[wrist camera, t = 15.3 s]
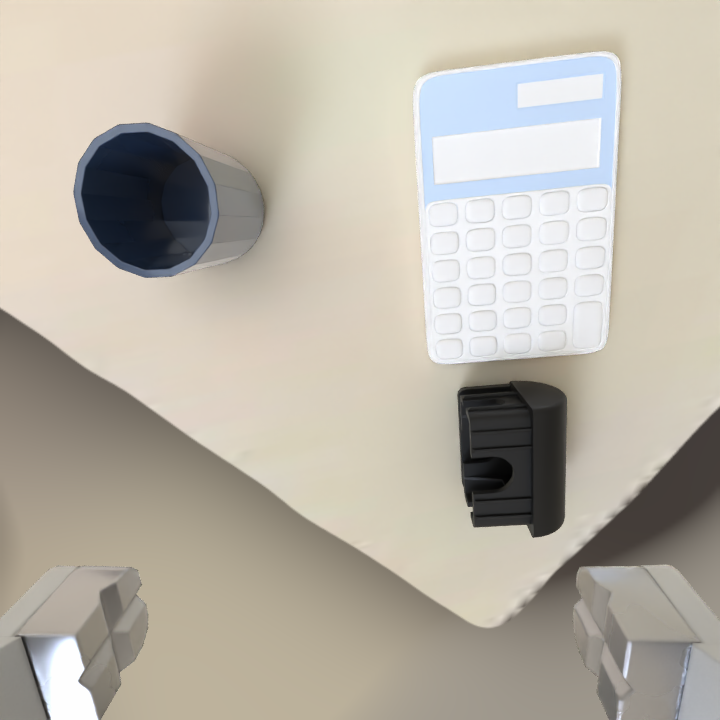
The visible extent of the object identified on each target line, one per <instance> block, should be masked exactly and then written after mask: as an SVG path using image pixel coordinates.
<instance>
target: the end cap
mask: <svg viewBox="0 0 720 720" xmlns="http://www.w3.org/2000/svg"><path fill="white" fill-rule="evenodd" d="M458 412H459V432H460V452H461V472H462V483H463V486H464V493H465V498H466V502H467V505H468V507H473V512H470V513H471V520H472V523H473V526H474V527H491V526H510V525H527V526H528V528H529V531H530V533H531V535H532V537H533V538H534V537H542V536H546V535H549V534H551V533H553V532H555V531H556V530H558V529H559V528H560V527H561V525H562V524H563V522H564V519H565V476H566V423H567V398H566V395H565V394H564V393H563V392H562V391H561V390H560V389H558V388H556V387H554V386H550V385H547V384H543V383H538V382H529V381H511V382H510V384H501V385H488V386H475V387H464V388H461V389H460V390H459V391H458Z"/></svg>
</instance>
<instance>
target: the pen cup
mask: <svg viewBox="0 0 720 720" xmlns="http://www.w3.org/2000/svg"><path fill="white" fill-rule="evenodd" d="M73 192H74V198H75V203H76V208H77V213H78V218H79V222H80V224H81V226H82V227H83V229H84V231H85V232H86V234H87V236H88V237H89V239H90V241H91V242H92V244H93V246H94V247H95V248H96V250H97V251H99V252H100V253H101V254H102V255H103V256H105V257H106V258H107V259H108V260H109V261H110V262H112V263H113V264H114V265H115V266H116V267H118V268H119V269H122V270H125V271H128V272H131V273H133V274H136V275H139V276H142V277H145V278H152V277H172V276H176V275H180V274H184V273H188V272H192V271H196V270H200V269H204V268H208V267H212V266H216V265H220V264H224V263H227V262H229V261H232V260H234V259H237V258H239V257H240V256H242V255H243V254H245V253H246V252H247V251H248V250H249V249H250V248H251V247H252V246H253V245H254V243H255V242H256V241H257V239H258V237H259V235H260V232H261V230H262V226H263V222H264V203H263V198H262V194H261V191H260V189H259V186H258V184H257V182H256V181H255V179H254V177H253V176H252V175H251V173H250V172H249V171H248V170H247V169H246V168H245V167H244V166H243V165H242V164H241V163H239V162H238V161H236V160H235V159H234V158H233V157H231V156H228V155H226V154H224V153H221V152H219V151H216V150H214V149H212V148H209V147H207V146H205V145H202V144H200V143H198V142H195V141H193V140H191V139H188V138H186V137H184V136H181V135H179V134H177V133H174V132H171V131H169V130H166V129H163V128H161V127H158V126H156V125H153V124H150V123H133V124H119V125H117V126H115V127H113V128H112V129H110V130H108V131H106V132H105V133H103V134H101V135H100V136H98V137H96V138H95V139H94V140H93V141H92V142H91V144H90V145H89V147H88V148H87V150H86V152H85V153H84V155H83V156H82V158H81V159H80V161H79V163H78V167H77V173H76V179H75V185H74V191H73Z"/></svg>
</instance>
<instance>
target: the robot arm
mask: <svg viewBox="0 0 720 720" xmlns="http://www.w3.org/2000/svg"><path fill="white" fill-rule="evenodd" d="M141 585H142V584H141V580H140V577H139V573H138V570H137V569H134V568H132V567H109V566H56V567H54V568H51V569H49V570H48V571H47V572H46V573H45V574H44V575H43V576H42V577H41V578H40V579H39V580H38V581H37V582H36V583H35V584H34V585H33V586H32V587H31V588H30V589H29V590H28V591H27V592H26V593H25V594H24V595H23V596H22V597H21V598H20V599H19V600H18V601H17V602H16V603H15V604H14V605H13V606H12V607H11V608H10V609H9V610H8V611H7V612H6V613H5V614H4V615H3V616H2V617H1V618H0V720H101V718H102V716H103V715H104V713H105V711H106V709H107V708H108V706H109V704H110V703H111V701H112V699H113V697H114V696H115V694H116V692H117V691H118V689H119V687H120V685H121V679H120V671H122V670H123V669H125V668H126V667H127V666H128V665H130V664H131V663H132V662H134V661H135V659H136V657H137V656H138V654H139V652H140V650H141V648H142V646H143V644H144V640H145V637H146V633H147V630H148V612H147V607H146V604H145V603H144V602H143V601H142V600H141V599H140V598H139V597H138V596H137V595H136V593H137V592H138V590H139V588H140V587H141ZM576 587H577V588H578V591H579V592H580V595H581V596H582V598H581V599H580V600H579V601H578V602H577V604H575V605H574V613H573V626H574V634H575V640H576V643H577V646H578V650H579V653H580V655H581V658H582V660H583V662H584V665H585V667H586V668H588V669H589V670H590V671H591V672H592V673H594V674H595V675H596V676H597V677H598V685H597V694H598V696H599V698H600V700H601V703H602V705H603V707H604V709H605V711H606V714H607V716H608V718H609V720H720V619H718V617H717V616H716V615H715V614H714V612H713V611H712V610H711V609H710V608H709V606H708V605H707V604H706V603H705V602H704V601H703V599H702V598H701V597H700V596H699V595H698V593H697V592H696V591H695V590H694V589H693V588H692V586H691V585H690V584H689V583H688V582H687V581H686V579H685V578H684V577H683V576H682V575H681V573H680V572H679V571H678V570H677V569H676V568H674V567H672V566H671V565H645V566H644V565H641V566H638V567H637V566H610V567H609V566H607V567H605V566H603V567H580V568H579V571H578V573H577V579H576Z"/></svg>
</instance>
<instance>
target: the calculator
mask: <svg viewBox="0 0 720 720" xmlns="http://www.w3.org/2000/svg"><path fill="white" fill-rule="evenodd" d="M620 101H621V65H620V61H619V59H618V57H617V55H615V54H614V53H612V52H607V51H595V52H585V53H577V54H569V55H561V56H553V57H545V58H537V59H530V60H522V61H514V62H506V63H498V64H490V65H482V66H474V67H466V68H458V69H450V70H443V71H437V72H432V73H429V74H426V75H424V76H422V77H421V78H420V79H419V80H418V81H417V82H416V85H415V87H414V93H413V119H414V137H415V154H416V171H417V188H418V205H419V222H420V239H421V255H422V272H423V289H424V306H425V323H426V339H427V349H428V353H429V357H430V358H431V359H432V361H434V362H436V363H439V364H459V363H473V362H486V361H499V360H512V359H525V358H539V357H552V356H565V355H578V354H587V353H593V352H597V351H599V350H601V349H603V347H604V346H605V345H606V342H607V338H608V330H609V314H610V294H611V275H612V256H613V236H614V217H615V198H616V178H617V159H618V140H619V120H620Z"/></svg>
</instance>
